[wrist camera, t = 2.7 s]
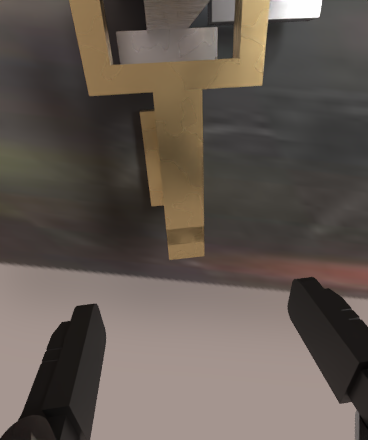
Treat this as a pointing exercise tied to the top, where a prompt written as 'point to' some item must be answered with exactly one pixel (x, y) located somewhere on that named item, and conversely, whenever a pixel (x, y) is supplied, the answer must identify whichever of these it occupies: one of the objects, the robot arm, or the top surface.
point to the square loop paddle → (173, 109)
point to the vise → (195, 37)
